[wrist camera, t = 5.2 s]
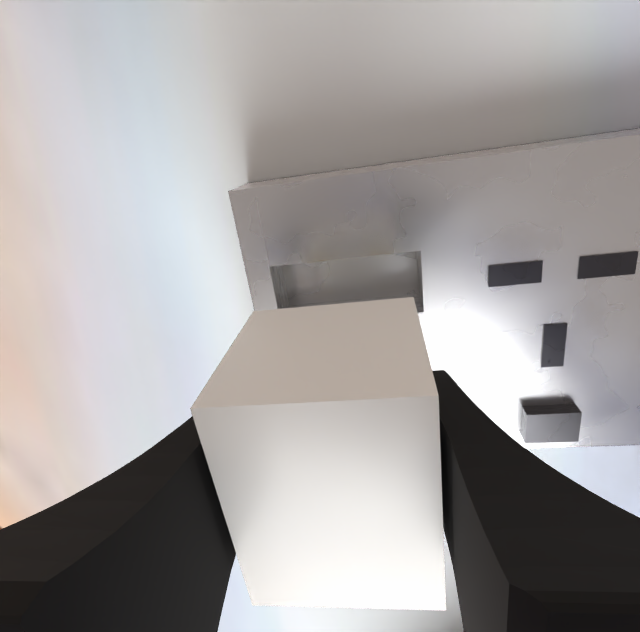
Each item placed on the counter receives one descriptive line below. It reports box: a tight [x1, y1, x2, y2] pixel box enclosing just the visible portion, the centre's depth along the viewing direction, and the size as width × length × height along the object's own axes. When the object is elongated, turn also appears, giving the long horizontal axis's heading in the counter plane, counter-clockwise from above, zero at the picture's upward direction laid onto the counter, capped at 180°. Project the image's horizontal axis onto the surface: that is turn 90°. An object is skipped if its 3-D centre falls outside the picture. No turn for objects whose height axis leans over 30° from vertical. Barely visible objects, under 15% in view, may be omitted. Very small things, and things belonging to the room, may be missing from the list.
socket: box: [228, 128, 640, 448], centre depth 17 cm, size 15×12×3 cm
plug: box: [190, 297, 446, 611], centre depth 11 cm, size 4×6×6 cm
